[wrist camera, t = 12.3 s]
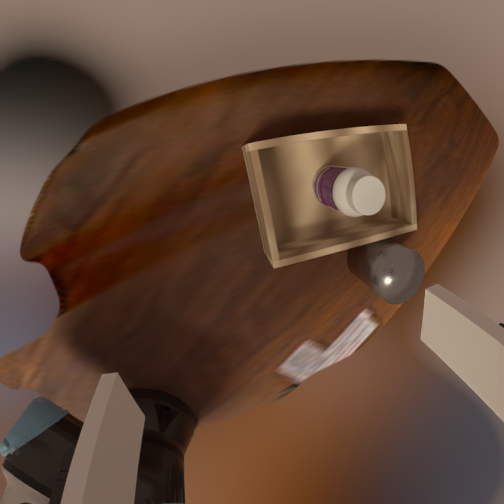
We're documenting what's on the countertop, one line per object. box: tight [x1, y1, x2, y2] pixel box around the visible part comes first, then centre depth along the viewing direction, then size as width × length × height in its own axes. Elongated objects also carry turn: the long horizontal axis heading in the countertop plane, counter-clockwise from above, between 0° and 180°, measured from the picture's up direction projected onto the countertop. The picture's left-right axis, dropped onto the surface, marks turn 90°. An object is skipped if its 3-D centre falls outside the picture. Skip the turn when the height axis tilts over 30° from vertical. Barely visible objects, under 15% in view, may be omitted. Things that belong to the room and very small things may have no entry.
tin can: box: [347, 238, 424, 304], centre depth 36 cm, size 7×7×9 cm
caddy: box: [242, 124, 417, 268], centre depth 33 cm, size 20×14×6 cm
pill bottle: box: [312, 165, 385, 217], centre depth 31 cm, size 5×5×10 cm
